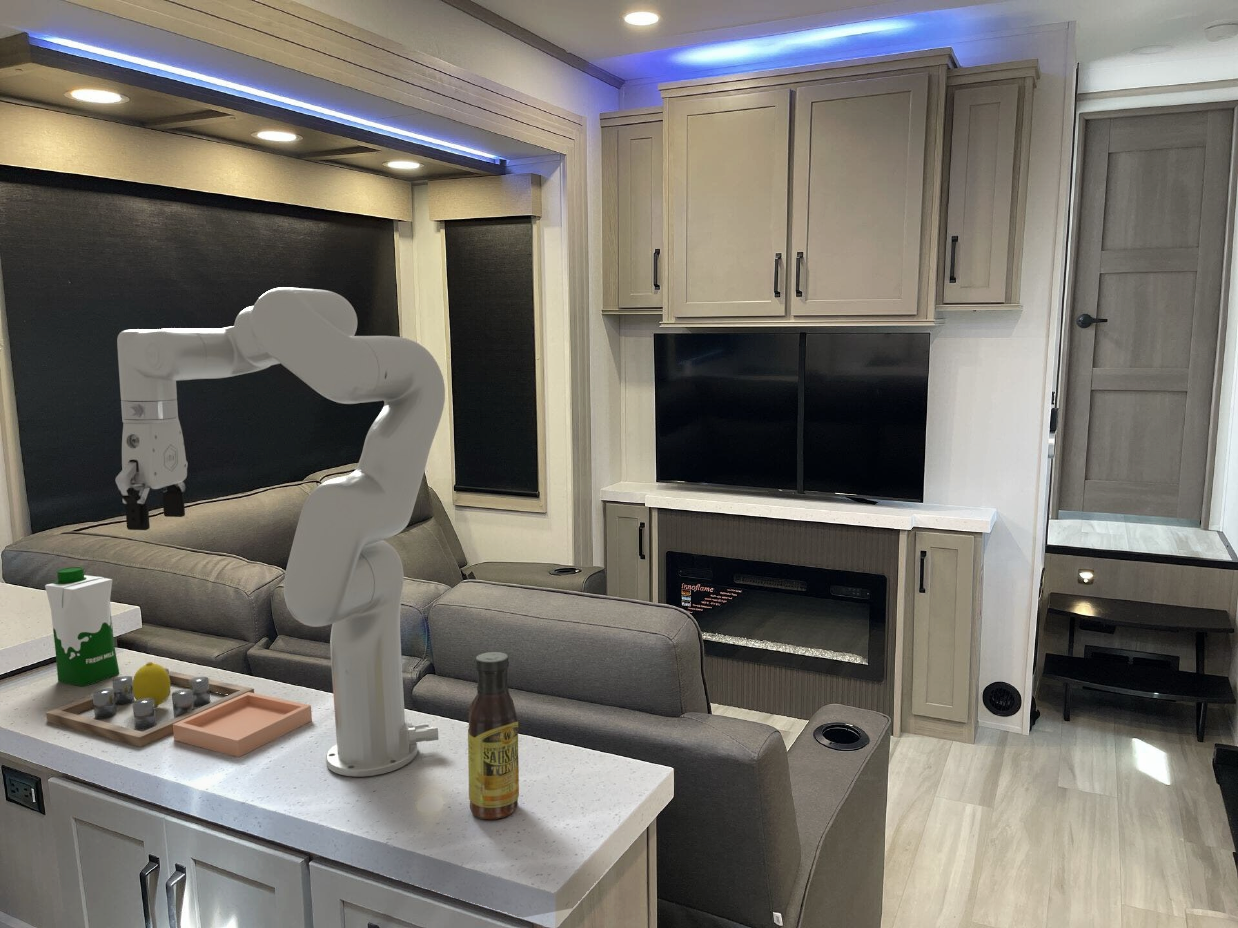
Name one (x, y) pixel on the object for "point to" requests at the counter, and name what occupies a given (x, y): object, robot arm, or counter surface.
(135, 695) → the lemon
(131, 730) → the frame
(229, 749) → the dish
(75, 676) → the milk carton
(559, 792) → the counter surface
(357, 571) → the robot arm
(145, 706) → the posts
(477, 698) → the sauce bottle
